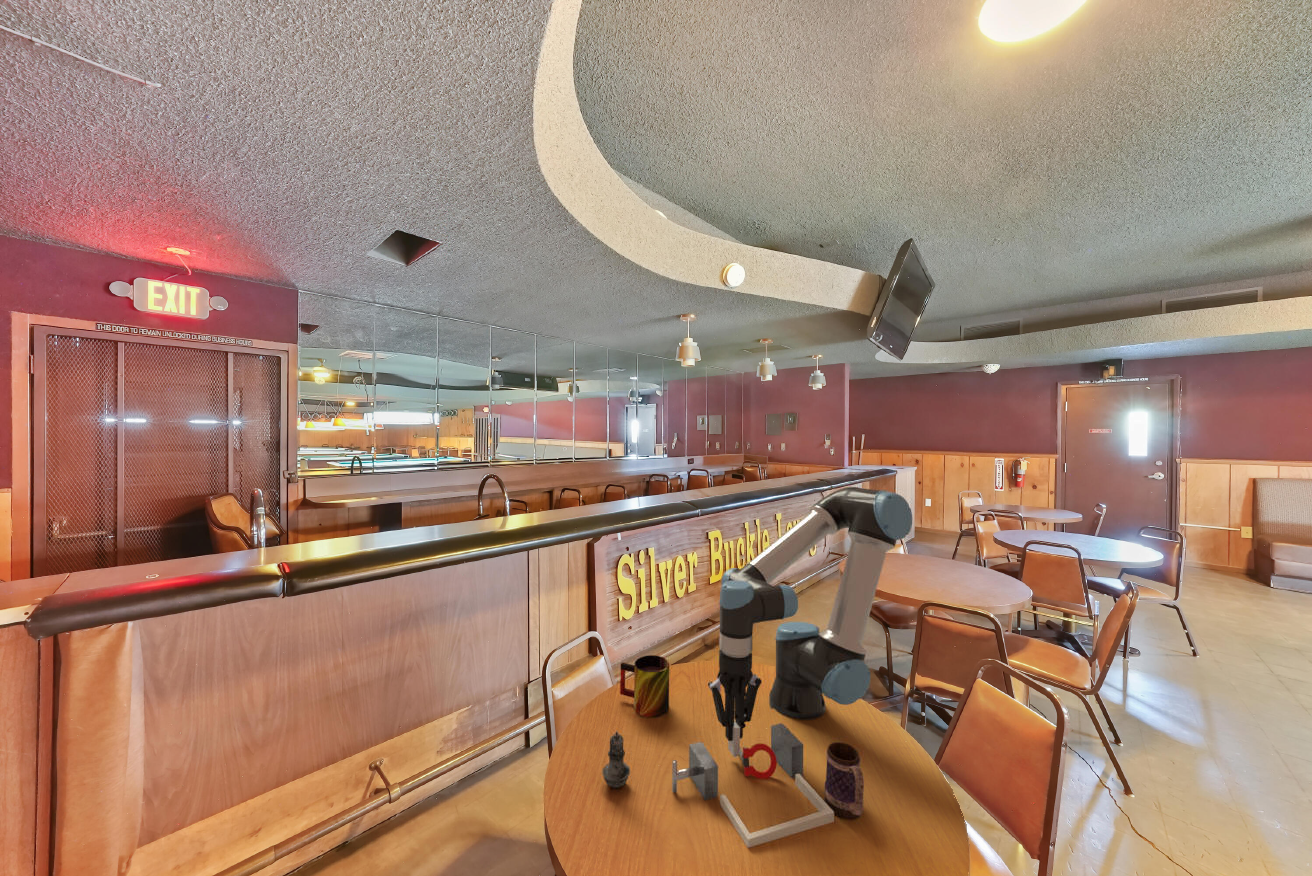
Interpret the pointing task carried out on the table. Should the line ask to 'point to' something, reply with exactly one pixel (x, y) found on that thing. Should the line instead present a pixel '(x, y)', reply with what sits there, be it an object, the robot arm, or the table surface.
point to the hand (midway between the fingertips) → (733, 752)
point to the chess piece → (616, 763)
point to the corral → (788, 827)
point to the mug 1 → (648, 685)
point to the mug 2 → (844, 781)
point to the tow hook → (749, 753)
